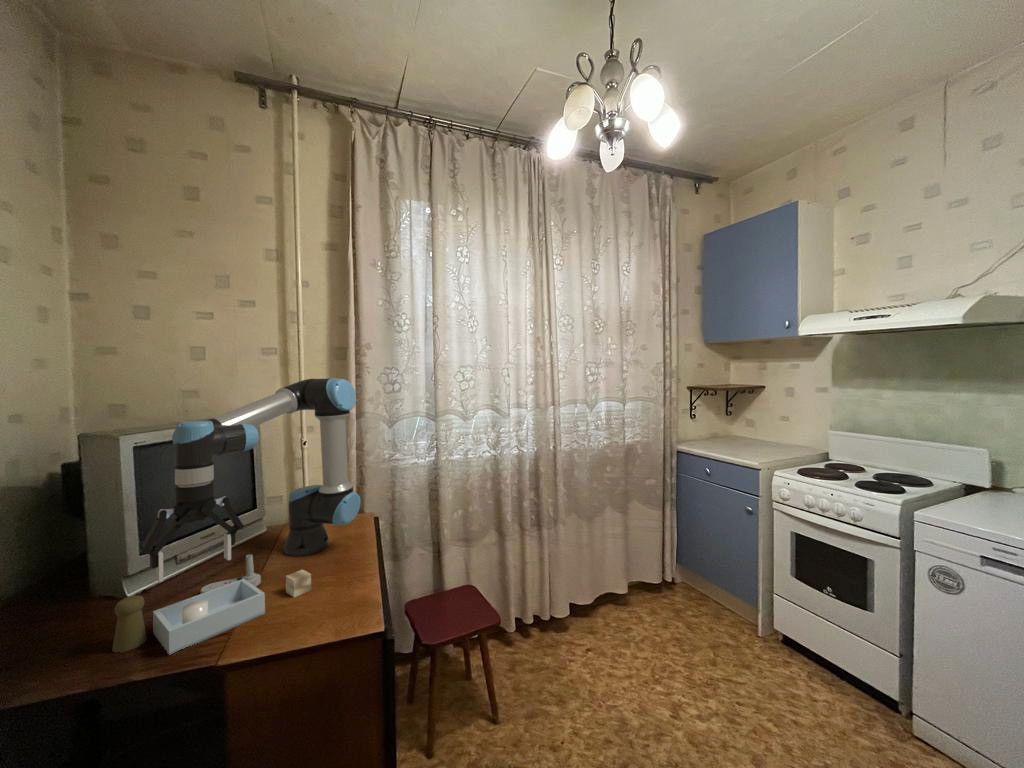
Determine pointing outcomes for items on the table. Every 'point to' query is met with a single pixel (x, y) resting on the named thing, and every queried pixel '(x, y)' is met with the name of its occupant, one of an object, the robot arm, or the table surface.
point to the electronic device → (250, 577)
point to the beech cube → (298, 583)
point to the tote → (208, 615)
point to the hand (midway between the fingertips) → (195, 568)
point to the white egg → (194, 610)
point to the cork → (129, 624)
